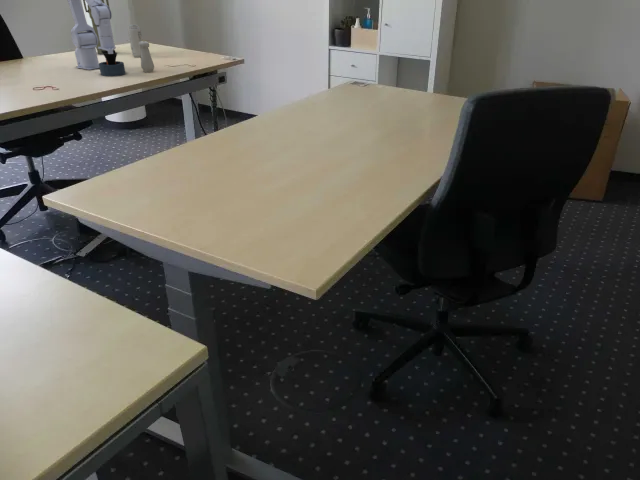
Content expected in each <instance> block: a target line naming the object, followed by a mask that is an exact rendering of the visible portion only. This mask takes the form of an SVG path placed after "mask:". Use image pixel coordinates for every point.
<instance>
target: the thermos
mask: <svg viewBox="0 0 640 480" xmlns="http://www.w3.org/2000/svg"><path fill="white" fill-rule="evenodd" d="M101 1H102V3H105V2H106V3H105V4H106V5H108V6H109V8H110V3H109V0H101ZM82 2H83V7H84V12H85V13H87V14H88V16H89V18H90V21H91V25H92V27H93V28H94V31H95V33H96V35H97V37H98V45H97V47H95V48H96V52H97V55H101V56H104V55H103V53H102V51H105V50H103V49H98V47H101V44H100V40H99V35H98V30H97V25H96V24H95V22H94V19H93V17H92V14H91V9H90V7H89V5H88V4H87V2H86V1H85V0H82ZM110 9H111V8H110Z"/></svg>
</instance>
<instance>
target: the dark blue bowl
mask: <svg viewBox="0 0 640 480" xmlns="http://www.w3.org/2000/svg"><path fill="white" fill-rule="evenodd" d="M99 67H100V68H99V72H100V75H101V76H104V77H120V76H123V75H126V67H125V63H124V62H123V61H119V60H116V64H114V65H107V63H106V61H101V62H99Z"/></svg>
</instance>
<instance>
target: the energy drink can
mask: <svg viewBox="0 0 640 480" xmlns="http://www.w3.org/2000/svg"><path fill="white" fill-rule="evenodd" d="M127 26H128V27H127V32H128V38H129V44H130V49H131V55H132V56H133V57H134V58H141V47H140V46H139V42H141V41H143V36H142V32H141V31H142V30H141V28H140V26H139V24H129V25H127Z"/></svg>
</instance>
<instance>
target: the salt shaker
mask: <svg viewBox="0 0 640 480" xmlns="http://www.w3.org/2000/svg"><path fill="white" fill-rule="evenodd" d="M139 46H140V47H141V57H140V68H141V69H142V71H143V72H144V73H153V72H154V69H155V64H154V61H153V58H152V55H151V52H150V49H149V48H150V43H149V42H148V41H146V40H142V41H141V42H139Z"/></svg>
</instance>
